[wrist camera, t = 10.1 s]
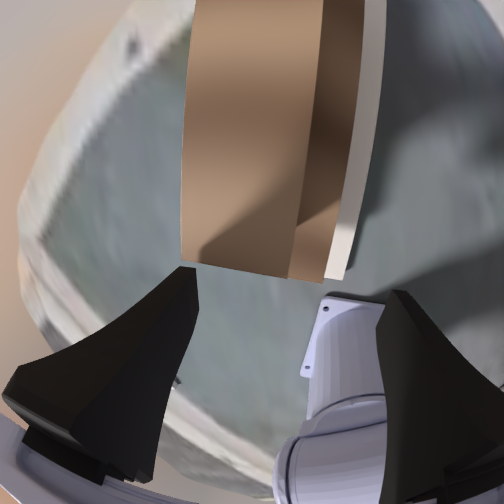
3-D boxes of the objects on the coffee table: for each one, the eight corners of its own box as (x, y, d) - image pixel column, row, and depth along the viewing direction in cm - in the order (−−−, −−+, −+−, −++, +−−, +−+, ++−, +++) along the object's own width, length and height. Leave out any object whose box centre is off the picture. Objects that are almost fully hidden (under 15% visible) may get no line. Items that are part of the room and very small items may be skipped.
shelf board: (321, 272, 17) (322, 347, 12) (191, 250, 18) (144, 309, 13) (361, -3, 10) (385, -59, 4) (210, -13, 11) (158, -61, 5)
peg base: (341, 273, 21) (345, 305, 18) (186, 246, 23) (164, 271, 19) (383, 2, 12) (398, -20, 9) (204, -13, 14) (181, -34, 10)
